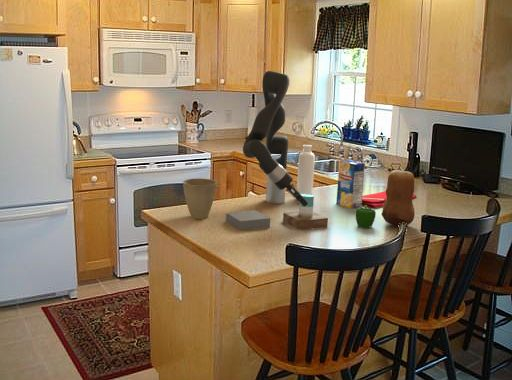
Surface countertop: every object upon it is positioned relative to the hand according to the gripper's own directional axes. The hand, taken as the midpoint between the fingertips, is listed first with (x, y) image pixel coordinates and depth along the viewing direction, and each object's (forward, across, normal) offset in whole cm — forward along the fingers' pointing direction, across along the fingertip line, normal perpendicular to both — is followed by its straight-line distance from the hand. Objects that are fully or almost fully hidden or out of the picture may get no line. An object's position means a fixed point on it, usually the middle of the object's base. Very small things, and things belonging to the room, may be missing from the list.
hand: (304, 202), depth 251 cm
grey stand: (-10, -1, +24) cm, 26 cm away
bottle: (+14, +46, -1) cm, 48 cm away
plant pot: (-25, +11, +38) cm, 47 cm away
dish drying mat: (+45, +46, -30) cm, 71 cm away
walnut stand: (+8, 0, +6) cm, 10 cm away
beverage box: (+29, +34, -15) cm, 47 cm away
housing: (+5, 0, +3) cm, 6 cm away
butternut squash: (+37, -2, -23) cm, 43 cm away
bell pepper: (+26, -3, -12) cm, 29 cm away
